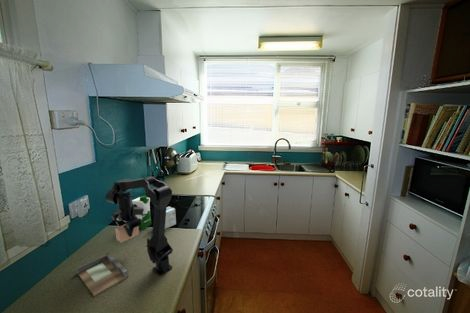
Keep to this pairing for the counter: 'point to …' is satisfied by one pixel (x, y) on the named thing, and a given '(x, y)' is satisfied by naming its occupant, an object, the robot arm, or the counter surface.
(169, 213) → the light bulb box
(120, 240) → the terracotta block
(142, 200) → the milk carton
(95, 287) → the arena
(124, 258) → the counter surface
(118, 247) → the counter surface
